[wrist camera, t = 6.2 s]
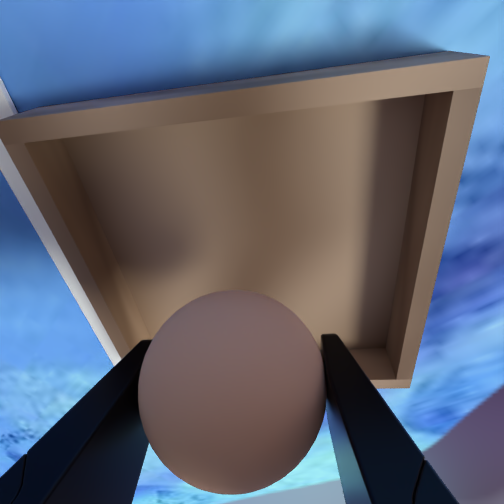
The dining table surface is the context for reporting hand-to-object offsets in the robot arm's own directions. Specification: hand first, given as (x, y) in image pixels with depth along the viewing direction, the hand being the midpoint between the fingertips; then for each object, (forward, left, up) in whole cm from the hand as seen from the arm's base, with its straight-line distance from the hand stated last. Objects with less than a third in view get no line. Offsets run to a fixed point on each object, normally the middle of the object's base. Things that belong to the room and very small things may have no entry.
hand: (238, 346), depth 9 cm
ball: (0, 0, -1) cm, 1 cm away
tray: (0, 0, -4) cm, 5 cm away
